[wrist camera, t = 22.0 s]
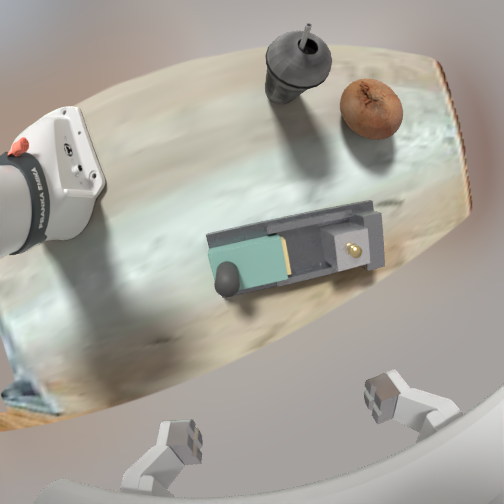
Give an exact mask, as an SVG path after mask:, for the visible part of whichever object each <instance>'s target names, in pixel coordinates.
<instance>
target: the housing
mask: <svg viewBox="0 0 504 504" xmlns="http://www.w3.org/2000/svg"><path fill="white" fill-rule="evenodd" d="M320 233H321V240H322V247H323V254H324V259H325V260H326V261H327V262H328V263H329V264H330V265H332V266H333V267H334V268H335V269H336V270H337V271H338V272H339V271H343V270H346V269H350V268H354V267H358V266H361V265H365V264H369V263H370V251H369V238H368V228H366V227H363V226H361V225H358V224H356V223H353V222H351V221H347V222H343V223H338V224H333V225H329V226H324V227H320Z"/></svg>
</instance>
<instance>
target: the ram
mask: <svg viewBox="0 0 504 504" xmlns="http://www.w3.org/2000/svg"><path fill="white" fill-rule="evenodd" d="M208 257H209V261H210V265H211V269H212V273H213V276H214V280H215V290H216V291H217V293H218V295H219V294H220V295H221V296H224V297H230V296H233V295H235V294H236V293H237V292H238V290H242V289H247V288H251V287H256V286H260V285H264V284H269V283H273V282H278V281H282V280H286V279H288V275H290V274H291V269H290V263H289V257H288V252H287V246H286V240H285V239H284V238H283V237H280V236H279V235H278V234H273V235H269V236H264V237H259V238H255V239H250V240H246V241H241V242H237V243H232V244H228V245H223V246H219V247H214V248H210V249H209V251H208Z"/></svg>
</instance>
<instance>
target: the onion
mask: <svg viewBox="0 0 504 504" xmlns="http://www.w3.org/2000/svg"><path fill="white" fill-rule="evenodd" d="M340 110H341V114H342V117H343V119H344V121H345V122H346V124H347V125H348V126H349V127H350V128H351V129H352V130H353V131H354V132H355V133H357V134H359V135H361V136H363V137H366V138H368V139H375V140H379V139H385V138H388V137H390V136H391V135H393V134H394V133H395V132H396V131H397V130H398V129H399V127H400V125H401V123H402V118H403V109H402V105H401V102H400V100H399V98H398V97H397V95H396V94H395V93H394V92H393V90H392V89H391V88H390V87H388V86H387V85H386V84H384V83H382V82H380V81H377V80H373V79H360V80H357V81H354V82H353V83H351V84H350V85H349V86H348V87H347V88H346V89H345V90H344V92H343V94H342V97H341V101H340Z"/></svg>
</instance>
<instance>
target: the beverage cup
mask: <svg viewBox="0 0 504 504" xmlns="http://www.w3.org/2000/svg"><path fill="white" fill-rule="evenodd" d="M311 27H312V24H311V23H307V24H306V26H305V29H304V31H292V32H287V33H285V34H283V35H281V36H279V37H278V38H277V39H276V40H275V41H273V43H272V44H271V45H270V46H269V47H268V49H267V53H266V64H267V74H266V82H265V92H266V95H267V97H268V98H269V99H270V100H271V101H273V102H275V103H279V104H285V103H288V102H290V101H292V100H293V99H295V98H296V97H297V96H299V95H300V94H301V93H303V92H304V91H306V90H307V89H310V88H313V87H317V86H318V85H320V84H321V83H323V82H324V81H325V79H326V78H327V77H328V75H329V72H330V69H331V64H332V58H331V52H330V50H329V48H328V47H327V45H326V43H324V41H323V40H322V39H321V38H319V37H317V36H316V35H314V34H312V33H310V29H311Z"/></svg>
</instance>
